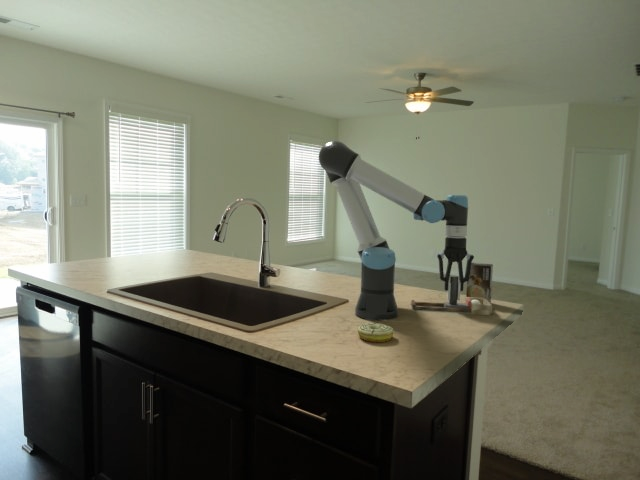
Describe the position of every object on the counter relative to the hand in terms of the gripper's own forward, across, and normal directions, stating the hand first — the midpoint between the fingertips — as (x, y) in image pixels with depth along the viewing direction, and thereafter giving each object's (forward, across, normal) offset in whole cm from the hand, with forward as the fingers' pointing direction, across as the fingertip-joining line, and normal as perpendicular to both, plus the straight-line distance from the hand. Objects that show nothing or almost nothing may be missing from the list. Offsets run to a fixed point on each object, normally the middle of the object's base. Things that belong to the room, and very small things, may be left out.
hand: (453, 299), depth 170 cm
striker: (+3, +1, 0) cm, 4 cm away
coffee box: (+4, +12, +12) cm, 17 cm away
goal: (+4, +9, 0) cm, 10 cm away
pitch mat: (+4, -1, 0) cm, 4 cm away
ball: (+2, +8, 0) cm, 8 cm away
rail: (+4, -4, 0) cm, 6 cm away
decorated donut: (+4, -28, -39) cm, 48 cm away
